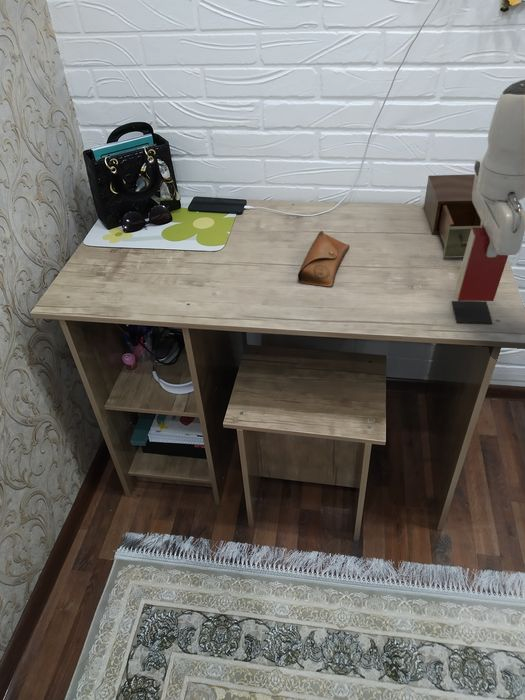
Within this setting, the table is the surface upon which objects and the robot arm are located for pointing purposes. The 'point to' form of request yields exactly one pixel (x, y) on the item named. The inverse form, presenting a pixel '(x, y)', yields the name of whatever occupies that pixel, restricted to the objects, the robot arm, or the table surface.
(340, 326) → the table surface
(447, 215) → the drawer
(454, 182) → the cabinet
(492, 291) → the book
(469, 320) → the coaster
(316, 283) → the sunglasses case
